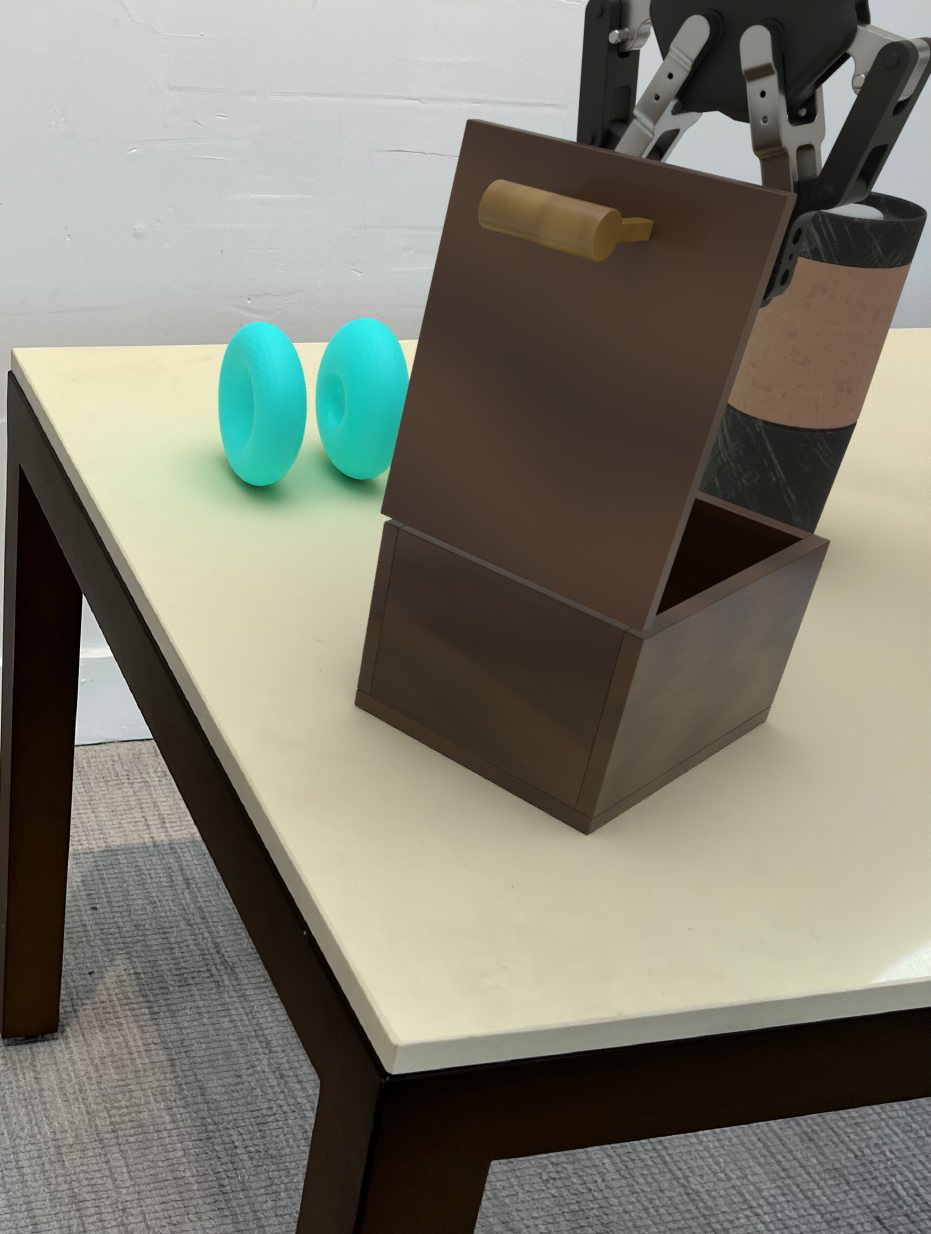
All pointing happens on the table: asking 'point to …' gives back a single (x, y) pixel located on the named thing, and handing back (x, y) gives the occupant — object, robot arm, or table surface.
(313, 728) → the table surface
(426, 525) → the lid
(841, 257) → the travel mug
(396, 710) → the chest
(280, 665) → the table surface
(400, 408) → the donuts
